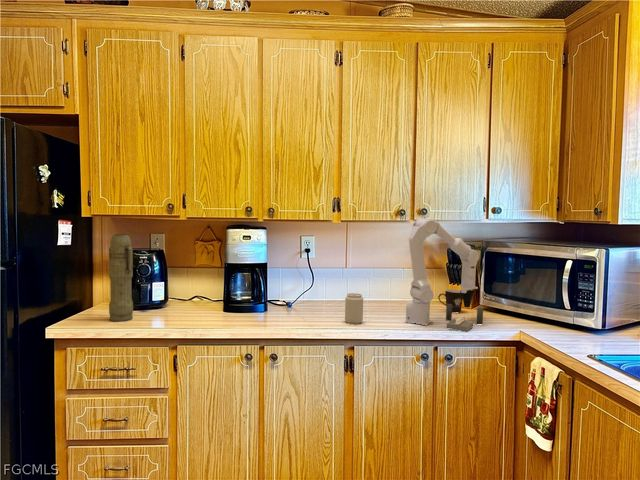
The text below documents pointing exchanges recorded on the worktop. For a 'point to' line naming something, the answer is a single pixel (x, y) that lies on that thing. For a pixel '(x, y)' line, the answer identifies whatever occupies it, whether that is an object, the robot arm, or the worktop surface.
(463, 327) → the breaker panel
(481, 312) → the post
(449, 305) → the post
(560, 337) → the worktop surface
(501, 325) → the worktop surface
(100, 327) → the worktop surface
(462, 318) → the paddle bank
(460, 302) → the coffee mug
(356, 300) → the can
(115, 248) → the thermos
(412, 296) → the robot arm
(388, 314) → the worktop surface
